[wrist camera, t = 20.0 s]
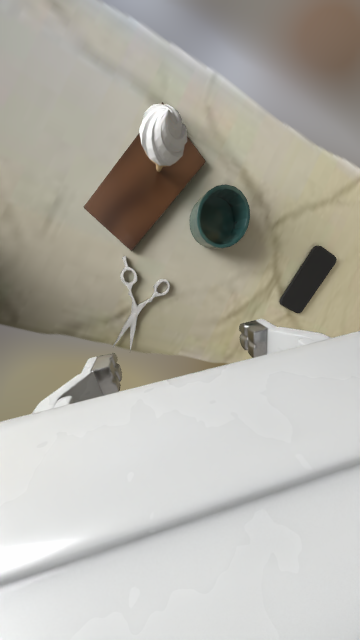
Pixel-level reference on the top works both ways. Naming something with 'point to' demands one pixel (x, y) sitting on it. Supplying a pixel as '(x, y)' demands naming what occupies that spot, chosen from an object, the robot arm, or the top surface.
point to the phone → (308, 279)
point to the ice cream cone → (163, 135)
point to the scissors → (135, 307)
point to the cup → (220, 217)
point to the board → (140, 191)
